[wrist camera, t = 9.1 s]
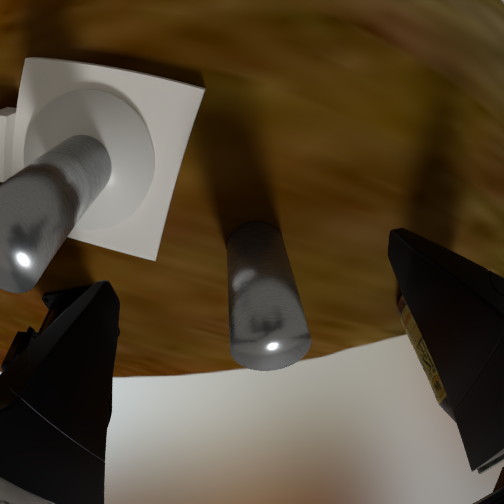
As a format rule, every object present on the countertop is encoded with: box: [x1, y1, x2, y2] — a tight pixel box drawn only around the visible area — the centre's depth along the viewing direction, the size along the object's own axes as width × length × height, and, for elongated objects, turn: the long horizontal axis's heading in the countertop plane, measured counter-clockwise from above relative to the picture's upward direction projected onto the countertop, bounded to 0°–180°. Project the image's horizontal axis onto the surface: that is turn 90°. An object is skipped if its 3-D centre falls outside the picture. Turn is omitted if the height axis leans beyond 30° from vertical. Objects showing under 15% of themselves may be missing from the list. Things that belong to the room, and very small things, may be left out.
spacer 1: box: [0, 135, 112, 293], centre depth 14 cm, size 4×4×10 cm
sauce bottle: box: [398, 294, 504, 474], centre depth 22 cm, size 6×6×20 cm
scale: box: [0, 57, 206, 261], centre depth 18 cm, size 13×15×2 cm
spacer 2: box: [227, 221, 311, 371], centre depth 21 cm, size 4×4×10 cm
